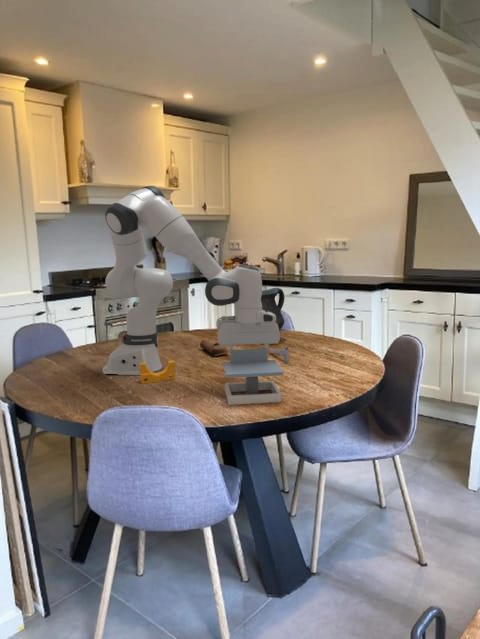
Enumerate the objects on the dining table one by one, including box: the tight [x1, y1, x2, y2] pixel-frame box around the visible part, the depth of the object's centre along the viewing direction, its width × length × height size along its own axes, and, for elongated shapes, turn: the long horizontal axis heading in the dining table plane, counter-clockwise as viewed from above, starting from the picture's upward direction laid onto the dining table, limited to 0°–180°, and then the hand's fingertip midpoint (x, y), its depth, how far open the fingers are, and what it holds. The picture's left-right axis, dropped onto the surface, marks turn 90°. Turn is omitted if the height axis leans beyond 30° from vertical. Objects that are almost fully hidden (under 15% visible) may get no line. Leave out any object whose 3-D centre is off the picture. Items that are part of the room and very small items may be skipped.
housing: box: [224, 380, 282, 406], centre depth 162 cm, size 16×14×3 cm
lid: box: [222, 348, 284, 379], centre depth 160 cm, size 17×15×5 cm
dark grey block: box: [245, 376, 259, 395], centre depth 162 cm, size 4×4×7 cm
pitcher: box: [261, 287, 285, 333], centre depth 245 cm, size 21×22×25 cm
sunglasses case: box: [199, 339, 230, 357], centre depth 225 cm, size 18×7×7 cm
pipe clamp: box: [139, 360, 176, 384], centre depth 183 cm, size 12×4×6 cm, turn 104°
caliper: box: [268, 346, 290, 364], centre depth 211 cm, size 20×1×6 cm, turn 17°
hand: (248, 357), depth 169 cm, fingers open, 8 cm apart
